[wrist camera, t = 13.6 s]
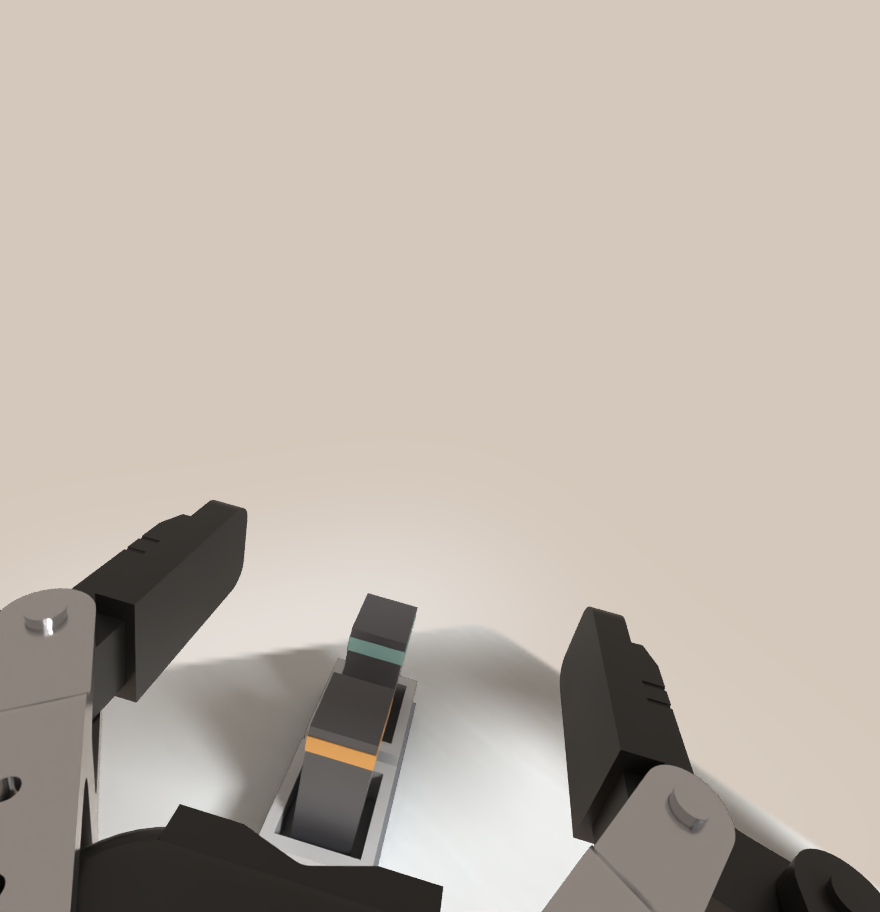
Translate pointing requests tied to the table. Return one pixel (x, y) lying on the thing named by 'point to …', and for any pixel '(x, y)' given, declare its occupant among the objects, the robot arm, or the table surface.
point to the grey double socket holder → (376, 801)
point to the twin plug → (379, 641)
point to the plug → (340, 762)
